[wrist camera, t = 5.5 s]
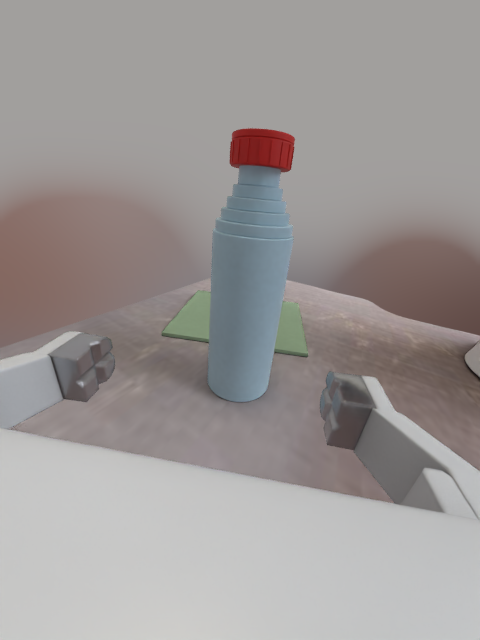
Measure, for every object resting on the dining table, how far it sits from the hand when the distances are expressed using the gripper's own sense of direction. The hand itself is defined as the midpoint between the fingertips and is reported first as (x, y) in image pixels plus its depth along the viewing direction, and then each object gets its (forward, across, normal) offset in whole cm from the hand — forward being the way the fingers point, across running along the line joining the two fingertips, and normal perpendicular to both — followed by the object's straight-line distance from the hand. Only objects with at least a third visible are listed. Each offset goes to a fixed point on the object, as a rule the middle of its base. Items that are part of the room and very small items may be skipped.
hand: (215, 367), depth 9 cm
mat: (+26, +2, +10) cm, 28 cm away
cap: (+12, 0, -9) cm, 15 cm away
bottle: (+12, 0, +10) cm, 16 cm away
